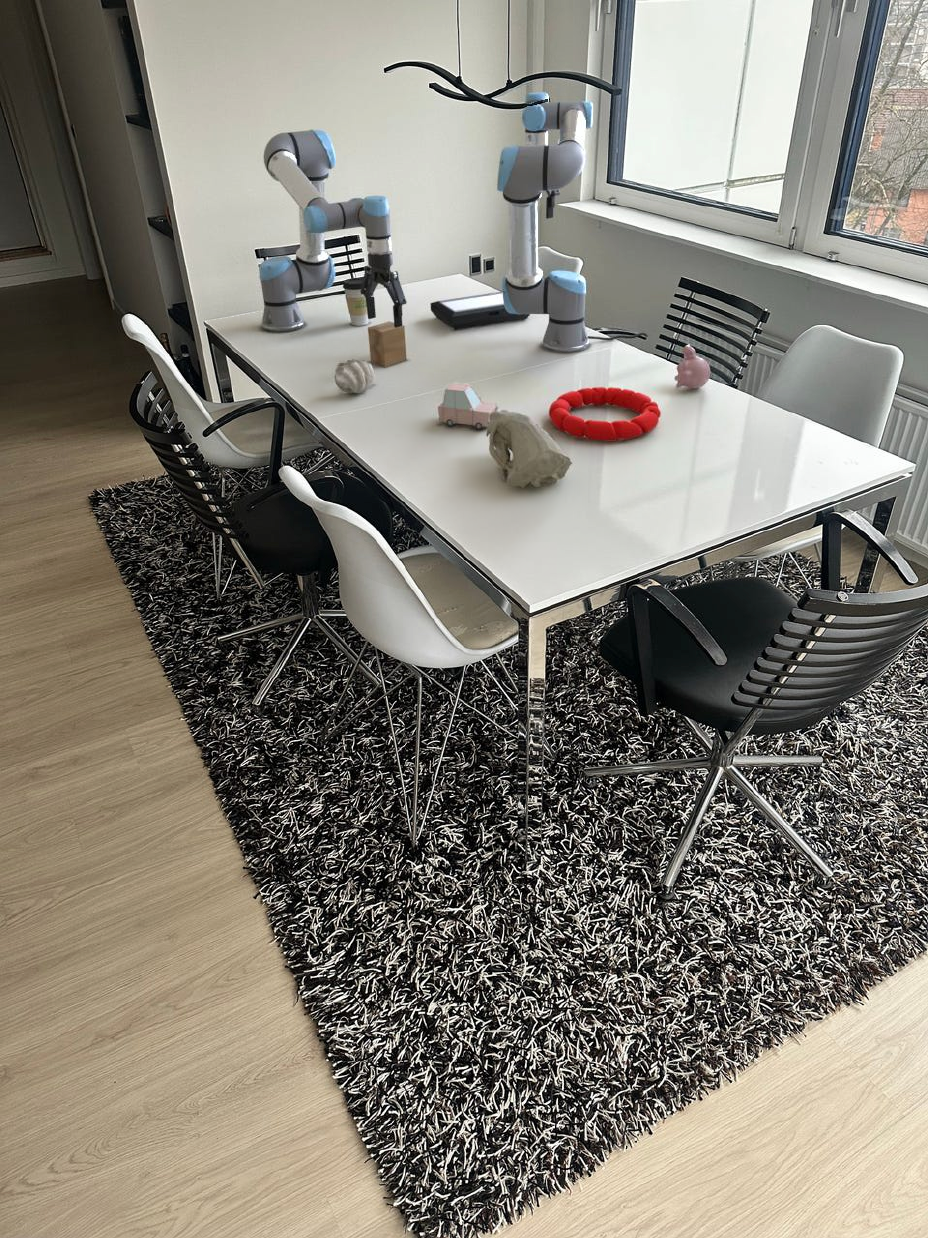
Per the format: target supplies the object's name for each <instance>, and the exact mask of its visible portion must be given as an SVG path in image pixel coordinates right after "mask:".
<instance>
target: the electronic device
mask: <svg viewBox="0 0 928 1238" xmlns="http://www.w3.org/2000/svg"><path fill="white" fill-rule="evenodd" d="M430 311H431V313H432V314H433V315H434V317H435V318H436V319H437V320H439V322H442V323H444V324H445V325H447V326H448V327H450V328H451V329H453V331H457V330H463V329H471V328H476V327H483V326H489V325H496V324H501V323H507V322H515V321H521V320H526V319H528V318H529V317H530V315H531V314H520V315H519V314H512V313H509V312H507V311H506V309H505V306H504V302H503V291H496V292H489V293H483V294H477V295H468V296H463V297H456V298H450V299H443V300H436V301H433V302H430Z"/></svg>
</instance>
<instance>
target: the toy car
mask: <svg viewBox="0 0 928 1238" xmlns="http://www.w3.org/2000/svg"><path fill="white" fill-rule="evenodd" d="M498 409H499V404H498V403H497V402H490V401H489V402H487V401H483V397H481V396H480V395H479V394H478V393H477V391H476V390H475V389H474V386H472V384H469V383H459V382H451V383H450V384H449V385H448V386H447V387H446V388H445V389H444V394H443V399H442V403H440V404H439V405H438V406H437V413H438V421H439V422H443V423H446V425H447V426H448V427H452V426H454V425H455V424H461V425H469V426H473V427H475V429H476V430H479V431H480V430H481V429H483V428H485V427H486V428H487V423H488V422H490V414H491V413H492V412H496V411H499V410H498Z"/></svg>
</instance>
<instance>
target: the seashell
mask: <svg viewBox="0 0 928 1238" xmlns="http://www.w3.org/2000/svg"><path fill="white" fill-rule="evenodd" d="M333 377H334V382H335V384H336V386H337V387H338V388H339V390H340V391H342V393H345V394H353V393H354V394H362V393H365V392H366V391H367V390H368V389H370V387H371V385H372V383H373V382H374V379H375V370H374V368H373V366H372V364H371V362H368V363H367V361H365V360H364V359H363V360H360V359H348V360H347V361H346V362H339V363H338V364H337V367H336V368H335V372H334V376H333Z"/></svg>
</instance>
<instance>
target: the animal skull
mask: <svg viewBox="0 0 928 1238" xmlns="http://www.w3.org/2000/svg"><path fill="white" fill-rule="evenodd" d="M485 436H486V438H487V437H489V438H488V440H489V444H488V445H489V446H488V450H489V454H490V456H491V457H492V458H493V459H494V460H495V462H496V464H497V466H499V468H500V470H501V471H502V472H501V478H502V479H507V480H506V484H507V486H517V487H518V486H519V488H523V489H524V488H526V486H527V485H529V483H531V485H533V486H534V487H536V488H540V485H541V484H542V482H544V483H549V484H550V485H553V484H555V483H556V482H557V480H561V479H563V478H565V476H566V474H567V472H568V471H569V469H570V467H571V466H572V464H573V462H572V461H571V458H570V457H568V456H567V455H565V453H564V451H562V449H561V448H560V446H559V444H557V443H556V439H555V438H554V436H553V435H551V434H550V433H548V432H547V431H546V430H545V429H544V428H542V427H541V426H539V425H538V424H537V423H536V424H535V422H534V421H533V419H532V418H531V417H530V416H529V415H527V414H524V413H519V412H515V411H509V410H507V409H502V410H500V411H499V410H497V411H496V412H492V413H491V414H490V422H488V423H487V427H486V435H485ZM511 453H512V454H511ZM511 455H512V457H513V458H512V460H511ZM507 474H508V475H507Z"/></svg>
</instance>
